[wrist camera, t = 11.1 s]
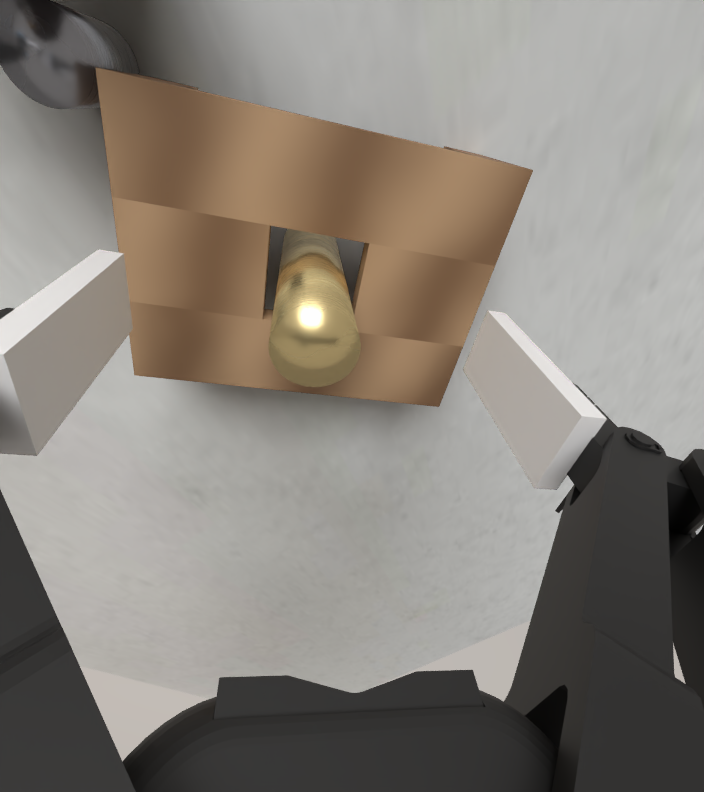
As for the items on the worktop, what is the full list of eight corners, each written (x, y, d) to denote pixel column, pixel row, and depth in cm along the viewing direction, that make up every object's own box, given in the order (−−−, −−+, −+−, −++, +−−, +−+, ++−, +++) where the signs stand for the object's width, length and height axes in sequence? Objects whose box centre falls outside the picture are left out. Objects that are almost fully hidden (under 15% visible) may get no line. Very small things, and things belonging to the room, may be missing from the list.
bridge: (167, 321, 25) (134, 375, 20) (151, 77, 18) (95, 67, 13) (415, 353, 28) (439, 406, 23) (480, 155, 21) (532, 170, 16)
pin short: (70, 98, 18) (4, 97, 14) (56, 9, 17) (-24, -21, 12) (142, 114, 19) (98, 117, 15) (135, 29, 17) (84, 6, 13)
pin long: (280, 266, 23) (264, 381, 14) (286, 212, 22) (273, 299, 12) (331, 276, 24) (350, 391, 14) (341, 223, 22) (370, 314, 13)
